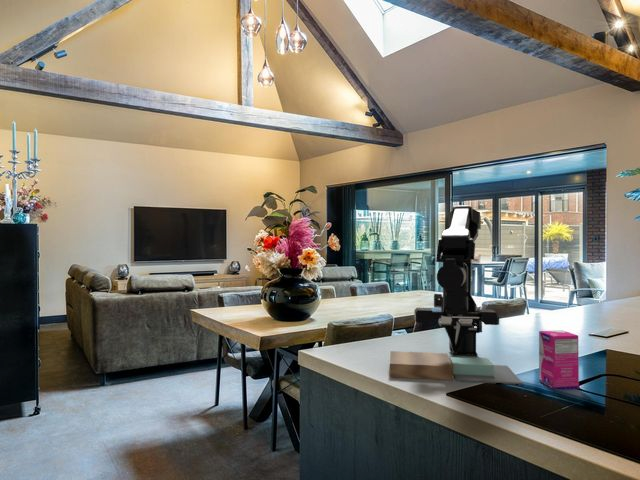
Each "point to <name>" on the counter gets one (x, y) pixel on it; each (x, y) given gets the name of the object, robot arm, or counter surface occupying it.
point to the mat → (500, 376)
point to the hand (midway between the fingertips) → (455, 352)
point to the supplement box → (558, 359)
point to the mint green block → (472, 366)
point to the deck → (420, 365)
